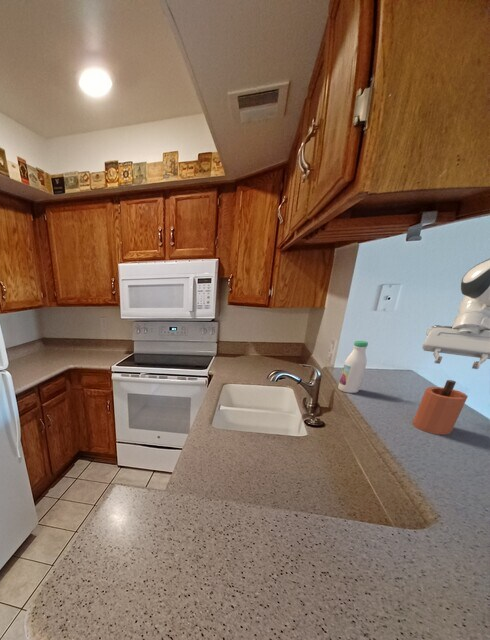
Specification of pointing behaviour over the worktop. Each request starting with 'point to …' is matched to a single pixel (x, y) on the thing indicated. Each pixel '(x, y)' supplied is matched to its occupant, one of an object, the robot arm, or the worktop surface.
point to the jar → (439, 411)
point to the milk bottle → (354, 368)
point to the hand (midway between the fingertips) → (455, 365)
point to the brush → (448, 388)
